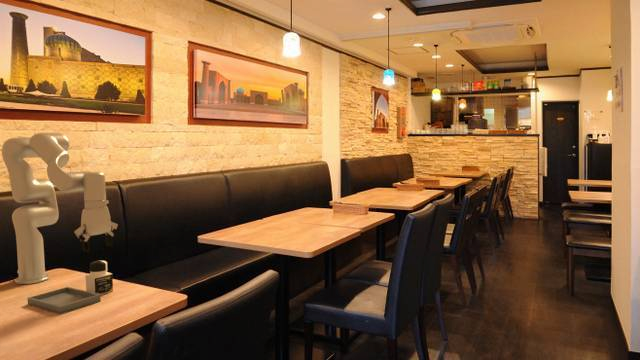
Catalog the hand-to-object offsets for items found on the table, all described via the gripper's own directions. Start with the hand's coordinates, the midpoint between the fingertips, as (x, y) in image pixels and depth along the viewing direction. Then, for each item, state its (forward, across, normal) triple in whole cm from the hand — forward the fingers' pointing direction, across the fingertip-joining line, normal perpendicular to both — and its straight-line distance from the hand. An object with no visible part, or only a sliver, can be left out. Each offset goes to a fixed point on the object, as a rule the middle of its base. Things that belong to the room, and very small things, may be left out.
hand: (98, 249), depth 181 cm
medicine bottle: (+17, 0, 0) cm, 17 cm away
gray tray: (+17, +14, 0) cm, 22 cm away
